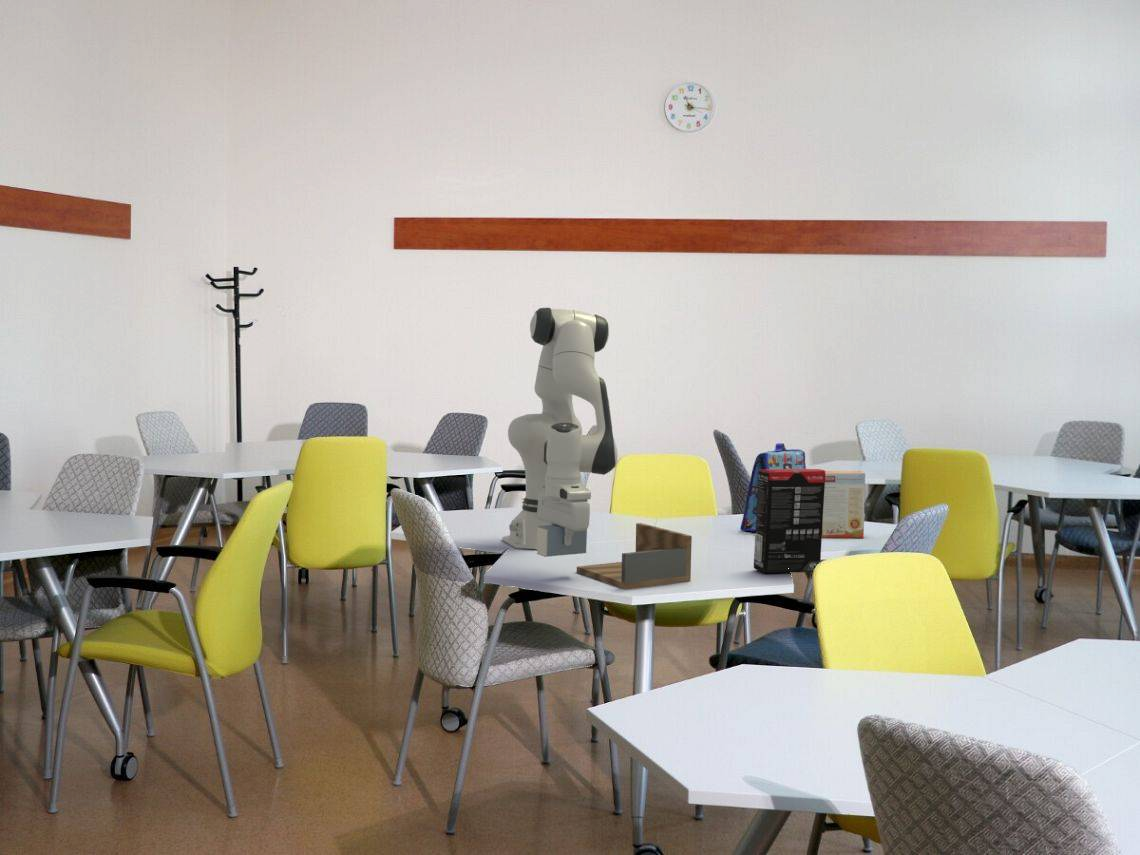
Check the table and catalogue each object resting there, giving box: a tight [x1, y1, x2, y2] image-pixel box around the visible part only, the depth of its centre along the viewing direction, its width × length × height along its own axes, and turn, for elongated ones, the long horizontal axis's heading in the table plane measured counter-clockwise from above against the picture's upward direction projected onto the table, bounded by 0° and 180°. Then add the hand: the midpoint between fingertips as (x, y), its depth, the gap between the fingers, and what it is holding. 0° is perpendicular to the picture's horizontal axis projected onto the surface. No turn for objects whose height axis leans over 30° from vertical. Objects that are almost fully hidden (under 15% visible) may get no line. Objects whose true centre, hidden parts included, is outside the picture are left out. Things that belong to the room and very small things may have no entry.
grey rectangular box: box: [536, 525, 588, 558], centre depth 262 cm, size 4×12×7 cm, turn 120°
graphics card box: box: [753, 468, 826, 574], centre depth 276 cm, size 17×7×27 cm, turn 107°
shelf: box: [576, 522, 693, 590], centre depth 266 cm, size 22×20×12 cm
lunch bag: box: [740, 442, 807, 533], centre depth 342 cm, size 22×14×29 cm, turn 131°
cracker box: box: [822, 470, 866, 539], centre depth 332 cm, size 14×6×21 cm, turn 92°
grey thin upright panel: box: [621, 547, 687, 583], centre depth 257 cm, size 2×18×7 cm, turn 121°
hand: (561, 543), depth 262 cm, fingers closed on grey rectangular box, 4 cm apart
